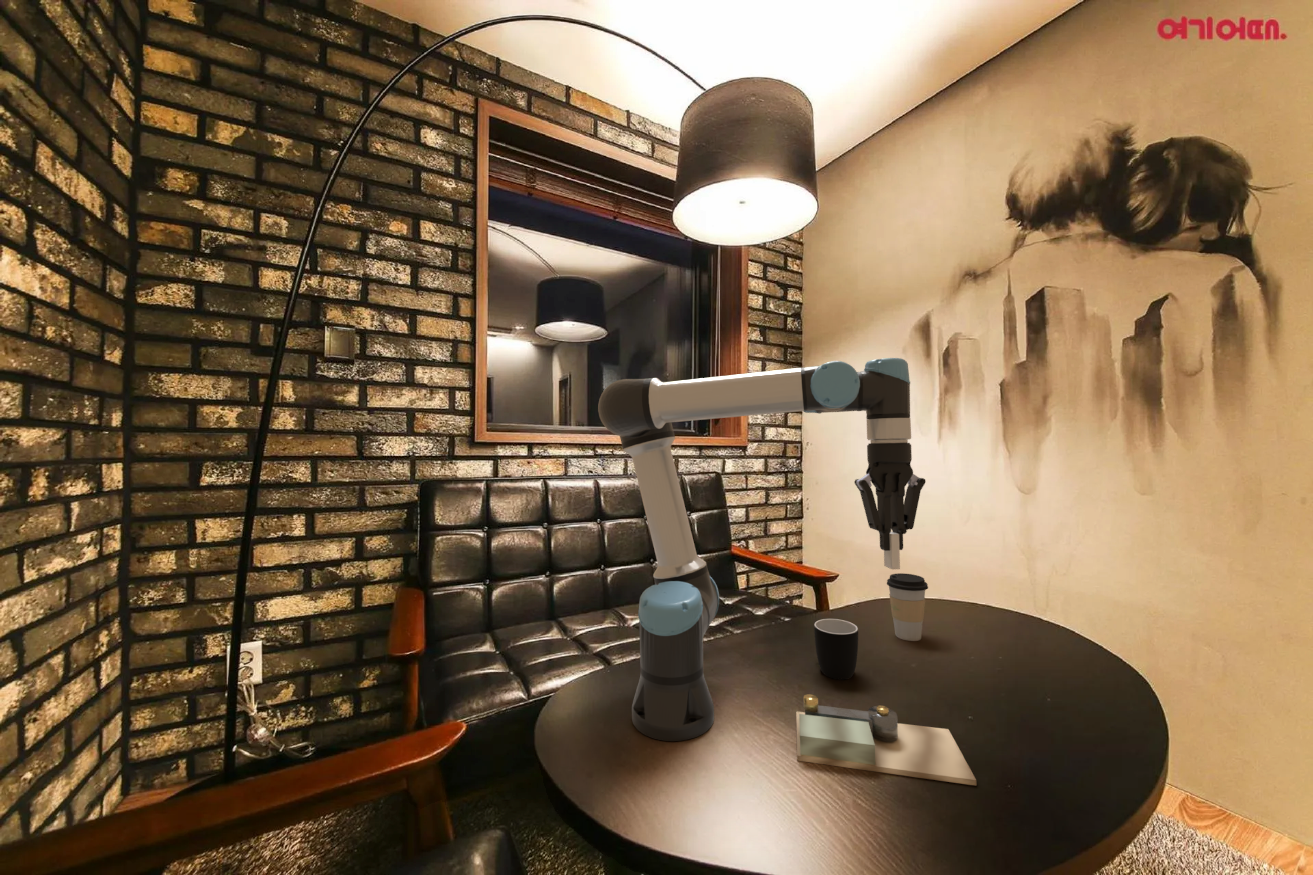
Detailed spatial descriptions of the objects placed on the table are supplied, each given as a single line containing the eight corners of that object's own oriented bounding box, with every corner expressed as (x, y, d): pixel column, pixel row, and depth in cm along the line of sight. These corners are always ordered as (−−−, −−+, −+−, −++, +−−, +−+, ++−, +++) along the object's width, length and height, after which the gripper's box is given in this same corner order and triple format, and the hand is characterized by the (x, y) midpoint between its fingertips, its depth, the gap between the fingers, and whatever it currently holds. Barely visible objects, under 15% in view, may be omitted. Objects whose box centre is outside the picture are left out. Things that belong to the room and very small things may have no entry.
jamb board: (797, 760, 78) (796, 736, 78) (796, 715, 91) (795, 694, 91) (976, 785, 71) (975, 759, 71) (948, 733, 84) (947, 711, 84)
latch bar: (895, 728, 84) (894, 701, 84) (900, 743, 80) (899, 715, 80) (804, 716, 88) (803, 690, 88) (804, 730, 84) (803, 703, 84)
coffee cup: (879, 632, 128) (878, 574, 128) (908, 627, 131) (907, 570, 131) (908, 646, 119) (906, 584, 119) (938, 640, 122) (937, 580, 122)
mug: (868, 679, 103) (867, 631, 104) (830, 685, 101) (829, 636, 101) (834, 655, 115) (833, 612, 115) (800, 660, 113) (799, 616, 113)
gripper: (909, 441, 97) (913, 561, 97) (845, 442, 96) (849, 564, 96) (934, 440, 89) (938, 571, 89) (865, 442, 88) (869, 574, 88)
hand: (892, 567), depth 92 cm, fingers closed
